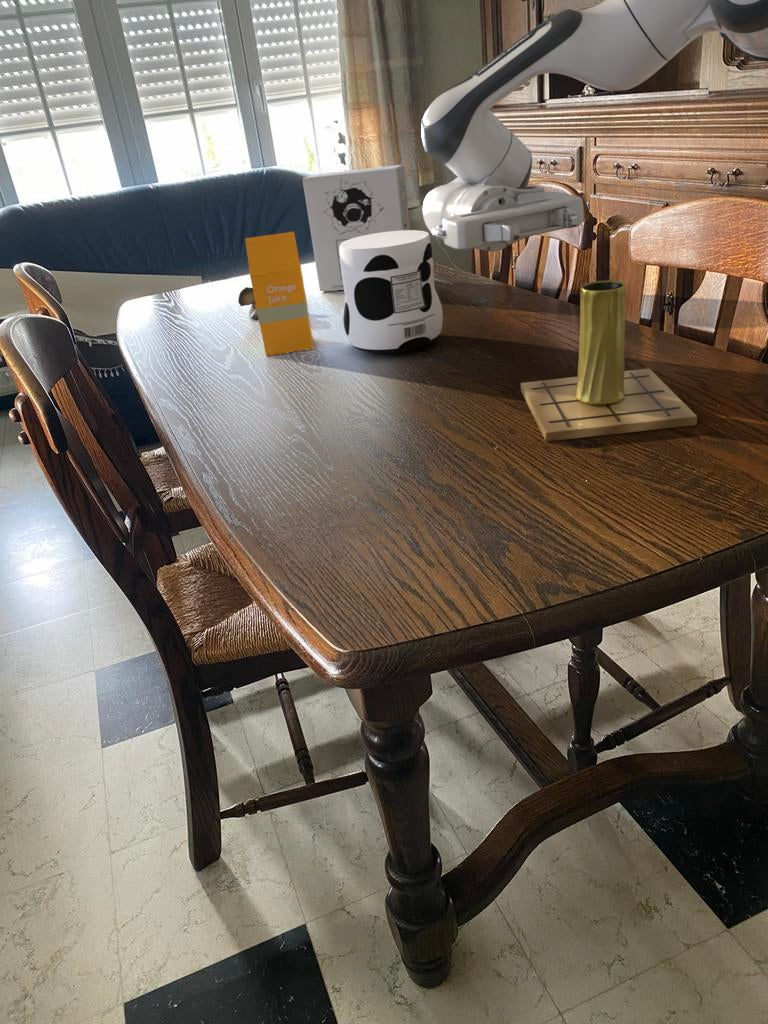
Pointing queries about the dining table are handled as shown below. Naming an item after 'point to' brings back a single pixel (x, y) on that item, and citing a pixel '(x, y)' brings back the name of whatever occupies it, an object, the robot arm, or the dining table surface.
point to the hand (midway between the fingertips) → (545, 226)
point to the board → (605, 408)
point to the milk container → (390, 291)
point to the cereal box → (352, 212)
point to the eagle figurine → (248, 301)
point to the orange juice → (279, 293)
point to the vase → (601, 343)
